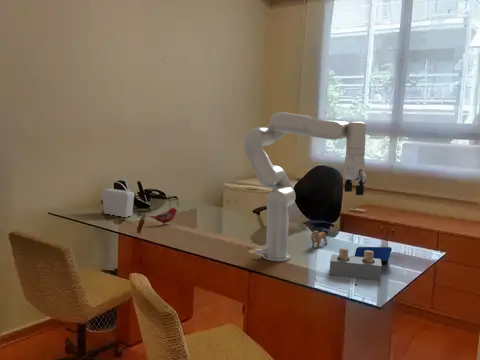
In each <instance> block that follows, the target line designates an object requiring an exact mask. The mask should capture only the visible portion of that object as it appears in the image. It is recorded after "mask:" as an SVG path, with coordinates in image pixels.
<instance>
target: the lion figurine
mask: <svg viewBox="0 0 480 360" xmlns="http://www.w3.org/2000/svg"><path fill="white" fill-rule="evenodd" d="M322 239H323V243H324V245H326V246H327V245H328V239H327V234H326V233H325V232H324V231H321V232H320V231H318V230H314V231H312V233H311V236H310V240H311V242H312V246H311V248H315V244H317V245H316V248H317V249H320V244H321V243H322Z"/></svg>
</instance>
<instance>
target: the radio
mask: <svg viewBox="0 0 480 360" xmlns="http://www.w3.org/2000/svg"><path fill="white" fill-rule="evenodd" d="M122 178H123V179H124V183H125V185H126V186H125V185H124V184H122V183H121V182H119V181H116V183H117V184H120V185H121V186H123V188H124V190H123V189H116V188H108V187H109V186H110V185H111V184H113V183H114V181H112V182H110V183H109V184H108V185H107V186H106V187H105V188H104V189H102V191H101V195H102V196H101V197H102V205H103V214H105V215H106V214H110V215H109V216H112V215H115V216H114V217H117V216H121V217H120V218H122V217H126V218H129V217H128V216H130V217H132V216H133V212H134V211H133V208H134V200H135V192H133V191H130V190H131V189H129V186H128V182H127V180H126V178H125V175H122ZM131 215H132V216H131Z"/></svg>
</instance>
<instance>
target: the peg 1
mask: <svg viewBox="0 0 480 360" xmlns="http://www.w3.org/2000/svg"><path fill="white" fill-rule="evenodd" d="M338 255H339V260H344V261H348V256H349V249H348V248H346V247H345V248H344V247H340V248H339V252H338Z"/></svg>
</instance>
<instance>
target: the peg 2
mask: <svg viewBox="0 0 480 360" xmlns="http://www.w3.org/2000/svg"><path fill="white" fill-rule="evenodd" d="M373 253H374V252H373V251H369V250H366V251H364V262H365V263H373Z"/></svg>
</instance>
